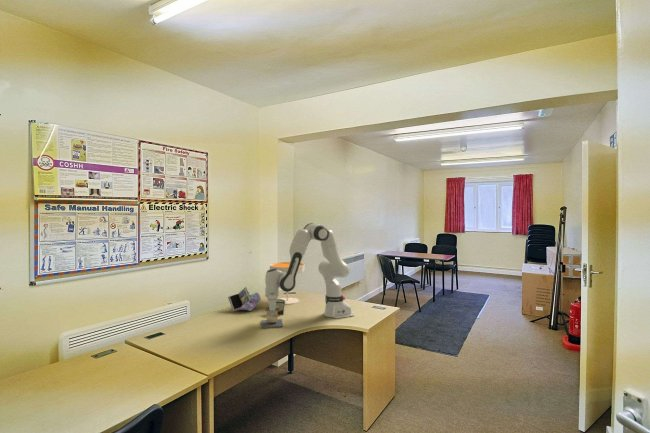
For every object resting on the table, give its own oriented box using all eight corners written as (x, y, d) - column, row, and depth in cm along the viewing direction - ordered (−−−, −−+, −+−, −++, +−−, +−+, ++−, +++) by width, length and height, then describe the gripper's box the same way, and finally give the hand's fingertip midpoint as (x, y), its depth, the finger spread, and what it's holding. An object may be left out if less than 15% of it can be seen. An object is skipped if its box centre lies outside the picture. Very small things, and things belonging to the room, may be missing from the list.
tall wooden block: (265, 320, 223) (265, 307, 223) (278, 319, 225) (278, 306, 225) (265, 322, 219) (265, 309, 219) (279, 321, 221) (279, 308, 220)
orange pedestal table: (292, 295, 300) (292, 260, 300) (311, 302, 278) (312, 264, 277) (263, 300, 282) (263, 264, 281) (281, 308, 259) (281, 268, 258)
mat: (281, 320, 230) (281, 319, 230) (283, 327, 216) (283, 325, 216) (261, 321, 228) (261, 320, 228) (261, 328, 214) (261, 327, 214)
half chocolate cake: (287, 312, 249) (287, 299, 249) (285, 314, 243) (285, 301, 243) (271, 311, 250) (271, 298, 250) (268, 314, 244) (268, 300, 244)
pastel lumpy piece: (266, 300, 265) (255, 281, 266) (257, 306, 243) (245, 285, 245) (245, 312, 267) (235, 293, 268) (234, 320, 245) (223, 299, 247)
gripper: (267, 289, 231) (267, 309, 232) (267, 297, 211) (267, 318, 211) (276, 289, 233) (276, 309, 233) (277, 296, 212) (277, 318, 213)
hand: (272, 313), depth 222 cm, fingers open, 5 cm apart
